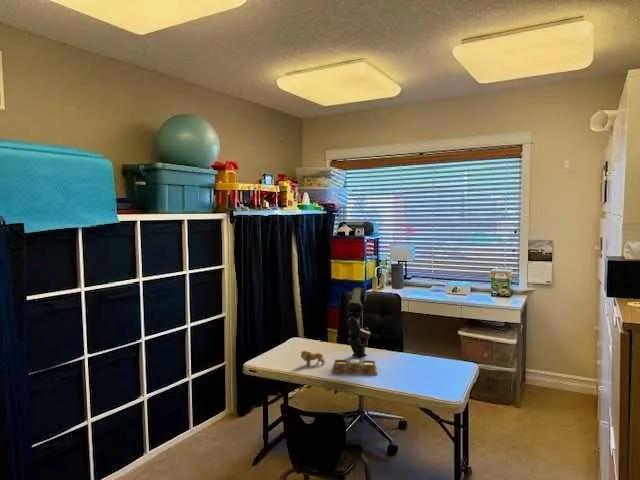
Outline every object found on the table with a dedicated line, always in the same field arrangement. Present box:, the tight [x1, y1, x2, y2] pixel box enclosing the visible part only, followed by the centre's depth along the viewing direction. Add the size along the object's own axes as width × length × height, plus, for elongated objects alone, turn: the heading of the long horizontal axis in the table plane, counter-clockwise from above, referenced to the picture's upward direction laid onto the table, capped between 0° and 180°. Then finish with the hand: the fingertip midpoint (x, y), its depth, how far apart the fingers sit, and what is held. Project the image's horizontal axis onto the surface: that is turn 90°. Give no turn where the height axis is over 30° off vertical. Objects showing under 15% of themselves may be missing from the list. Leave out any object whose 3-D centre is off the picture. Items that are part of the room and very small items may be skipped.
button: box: [349, 359, 360, 364], centre depth 242 cm, size 5×5×2 cm
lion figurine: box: [300, 350, 327, 367], centre depth 251 cm, size 15×5×9 cm, turn 110°
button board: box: [331, 359, 378, 376], centre depth 242 cm, size 24×10×5 cm, turn 84°
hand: (354, 353), depth 241 cm, fingers closed
